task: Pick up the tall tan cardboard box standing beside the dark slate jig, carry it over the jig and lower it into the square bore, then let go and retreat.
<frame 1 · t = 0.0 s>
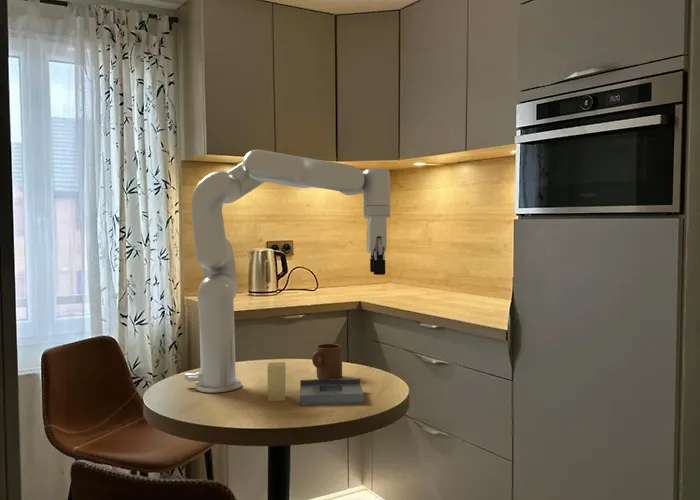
hand: (377, 273, 176), 31 cm above the table, fingers open, 9 cm apart
tan cardboard box: (277, 398, 163), on the table
jig: (331, 397, 163), on the table
mug: (325, 380, 182), on the table
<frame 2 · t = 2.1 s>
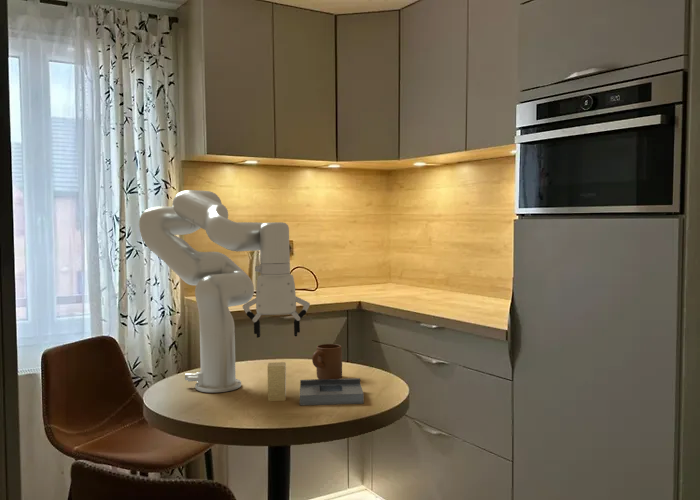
hand: (277, 336, 162), 16 cm above the table, fingers open, 9 cm apart
nothing on the table moved.
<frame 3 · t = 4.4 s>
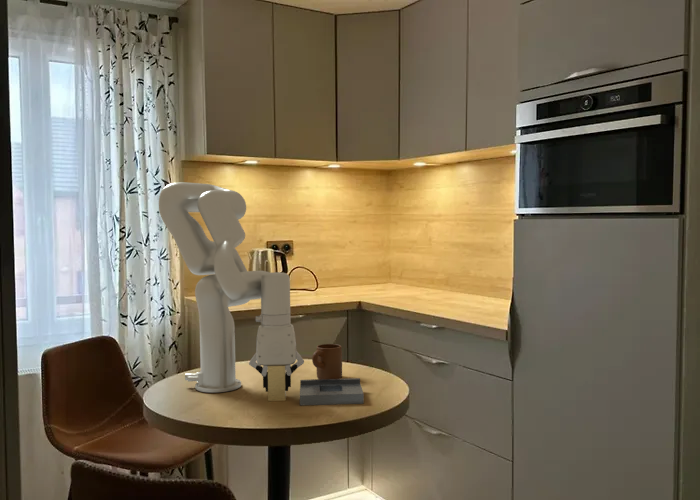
hand: (277, 389, 163), 2 cm above the table, fingers closed on tan cardboard box, 4 cm apart
tan cardboard box: (277, 398, 163), on the table, touching gripper
everything else where it was.
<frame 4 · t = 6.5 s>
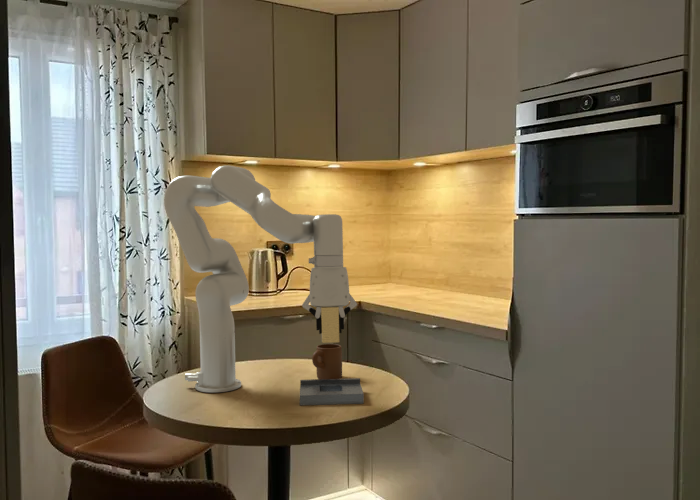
hand: (330, 331, 162), 17 cm above the table, fingers closed on tan cardboard box, 4 cm apart
tan cardboard box: (330, 341, 162), point 15 cm above the table, touching gripper
everything else where it was.
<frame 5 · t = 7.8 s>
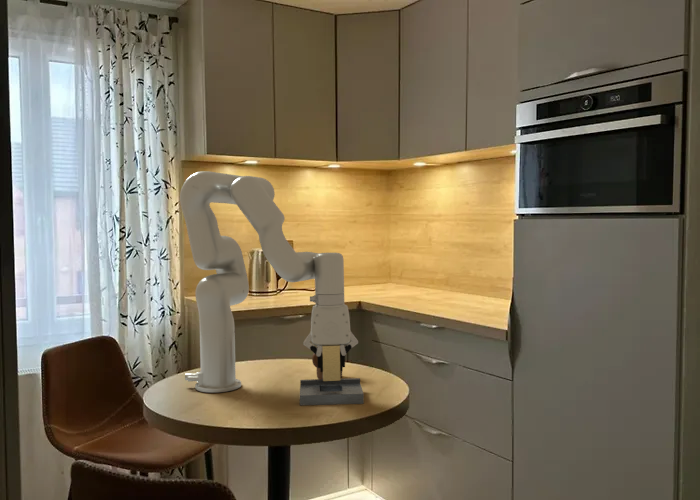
hand: (331, 369, 162), 7 cm above the table, fingers closed on tan cardboard box, 4 cm apart
tan cardboard box: (331, 378, 162), point 5 cm above the table, touching gripper
everything else where it was.
when the fingers open (4 cm above the table, at t = 8.8 s): tan cardboard box drops 1 cm, resting in jig.
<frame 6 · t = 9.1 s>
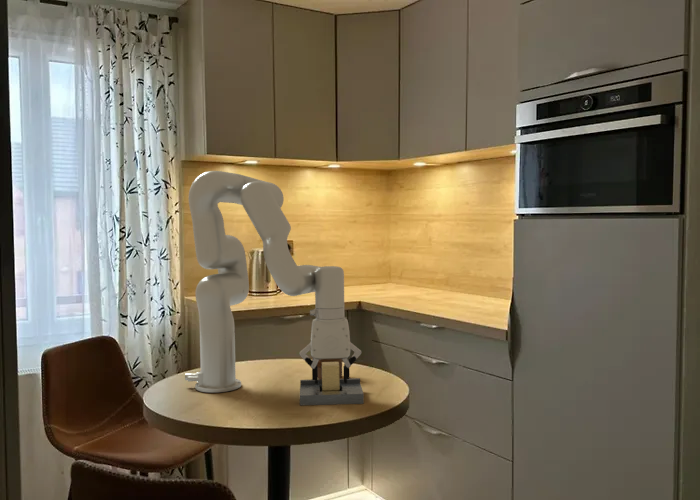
hand: (330, 381, 162), 4 cm above the table, fingers open, 7 cm apart
tan cardboard box: (330, 398, 163), resting in jig
everything else where it was.
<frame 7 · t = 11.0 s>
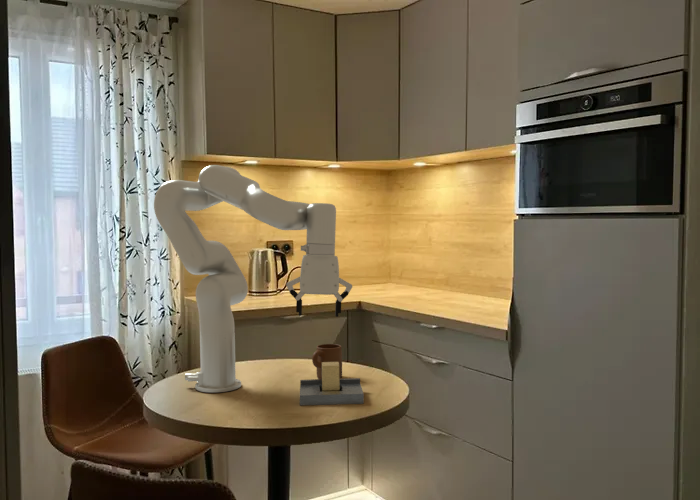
hand: (318, 315, 164), 21 cm above the table, fingers open, 9 cm apart
nothing on the table moved.
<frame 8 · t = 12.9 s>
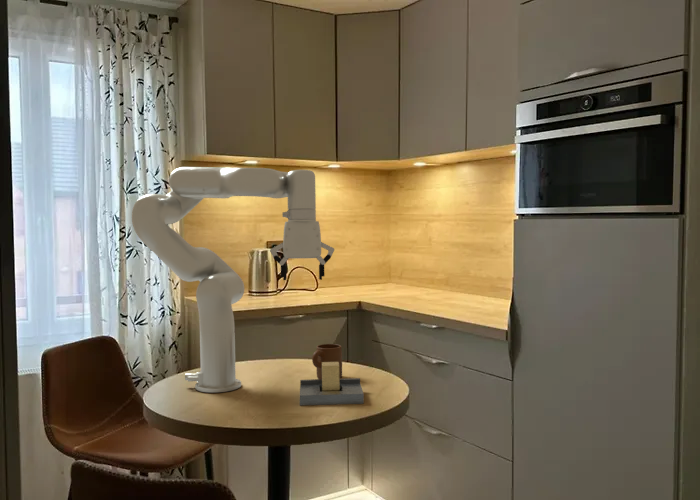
hand: (302, 279, 169), 30 cm above the table, fingers open, 9 cm apart
nothing on the table moved.
at the end: tan cardboard box 0.1 cm off-centre on the jig, point 0.0 cm above the jig's base; tan cardboard box tilted 0°; the gripper is holding nothing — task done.
